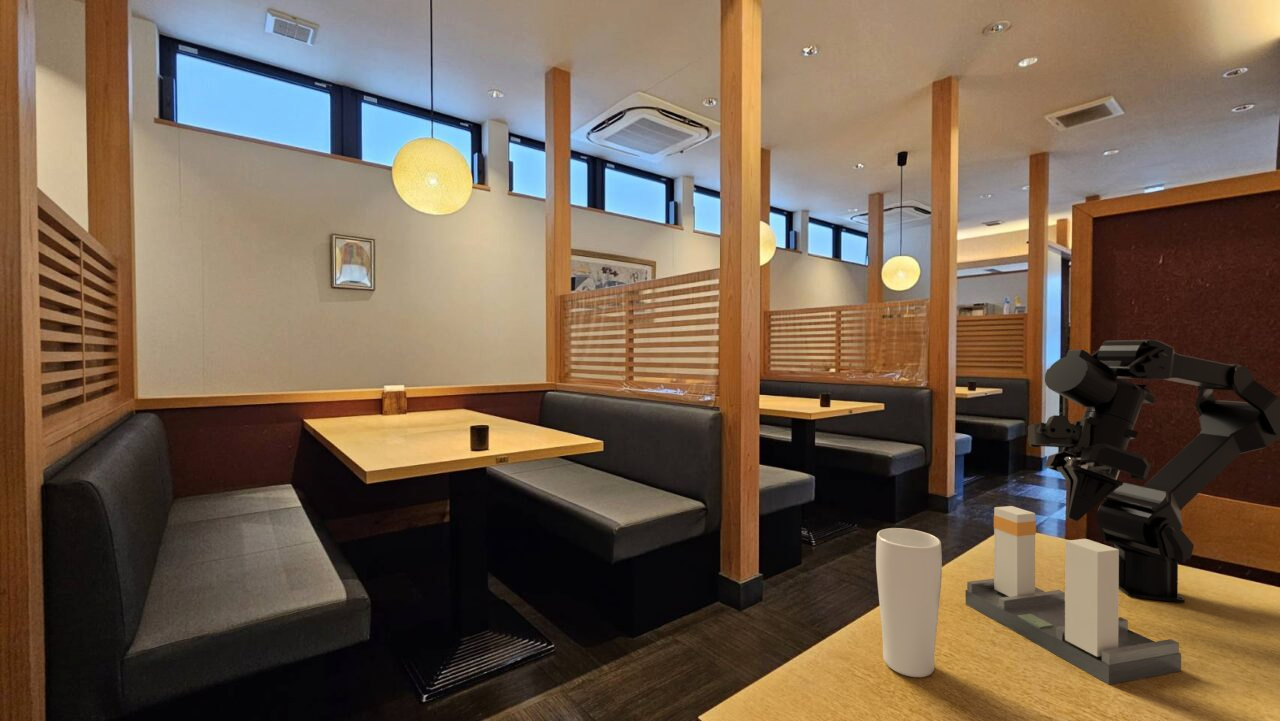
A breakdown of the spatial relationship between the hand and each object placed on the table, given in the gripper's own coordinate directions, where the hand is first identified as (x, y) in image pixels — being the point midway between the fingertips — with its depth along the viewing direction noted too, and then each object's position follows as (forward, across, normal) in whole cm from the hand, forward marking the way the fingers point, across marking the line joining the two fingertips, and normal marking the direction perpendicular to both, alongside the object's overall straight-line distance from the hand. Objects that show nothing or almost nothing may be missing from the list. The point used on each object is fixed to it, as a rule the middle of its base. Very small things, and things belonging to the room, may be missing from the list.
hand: (1072, 519), depth 77 cm
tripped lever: (+13, +3, -4) cm, 14 cm away
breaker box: (+15, +8, +1) cm, 17 cm away
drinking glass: (+25, +22, -16) cm, 37 cm away
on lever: (+14, +15, +1) cm, 21 cm away
